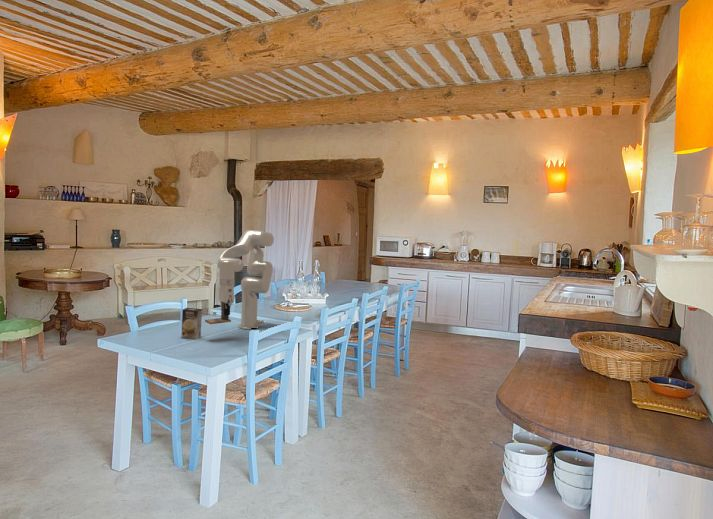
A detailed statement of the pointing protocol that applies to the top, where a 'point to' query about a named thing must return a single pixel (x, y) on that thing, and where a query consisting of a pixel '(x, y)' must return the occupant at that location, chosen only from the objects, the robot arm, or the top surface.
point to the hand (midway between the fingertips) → (225, 314)
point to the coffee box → (191, 323)
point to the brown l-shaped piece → (223, 317)
